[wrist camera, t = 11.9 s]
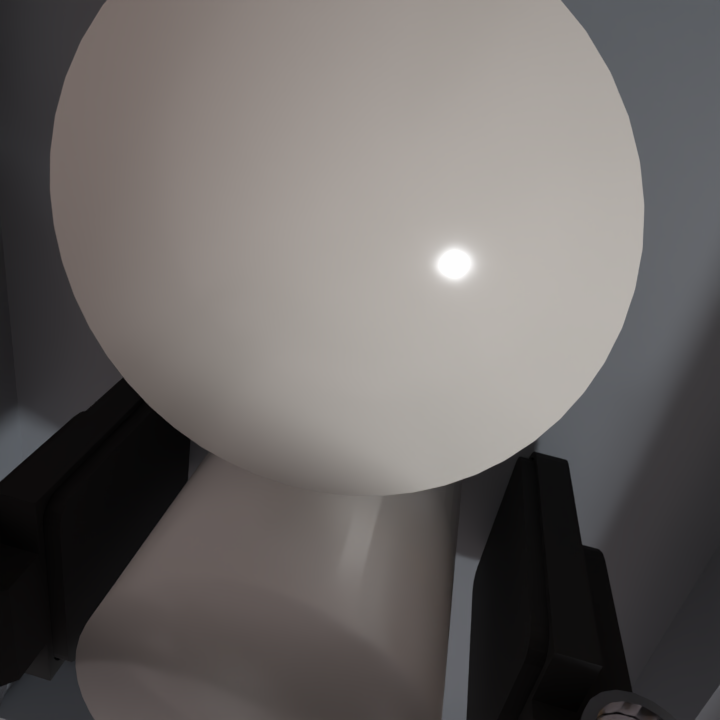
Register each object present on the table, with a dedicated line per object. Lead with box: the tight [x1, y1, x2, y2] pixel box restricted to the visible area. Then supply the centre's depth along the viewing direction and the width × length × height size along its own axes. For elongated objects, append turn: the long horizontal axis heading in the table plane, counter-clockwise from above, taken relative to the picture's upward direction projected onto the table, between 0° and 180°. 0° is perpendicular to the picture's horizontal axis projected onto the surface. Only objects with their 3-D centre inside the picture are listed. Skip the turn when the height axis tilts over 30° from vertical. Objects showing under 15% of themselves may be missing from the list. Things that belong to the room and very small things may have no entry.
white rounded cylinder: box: [75, 452, 462, 720], centre depth 9 cm, size 4×4×5 cm
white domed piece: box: [50, 0, 644, 496], centre depth 7 cm, size 4×4×5 cm
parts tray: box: [0, 0, 720, 720], centre depth 11 cm, size 18×15×2 cm
